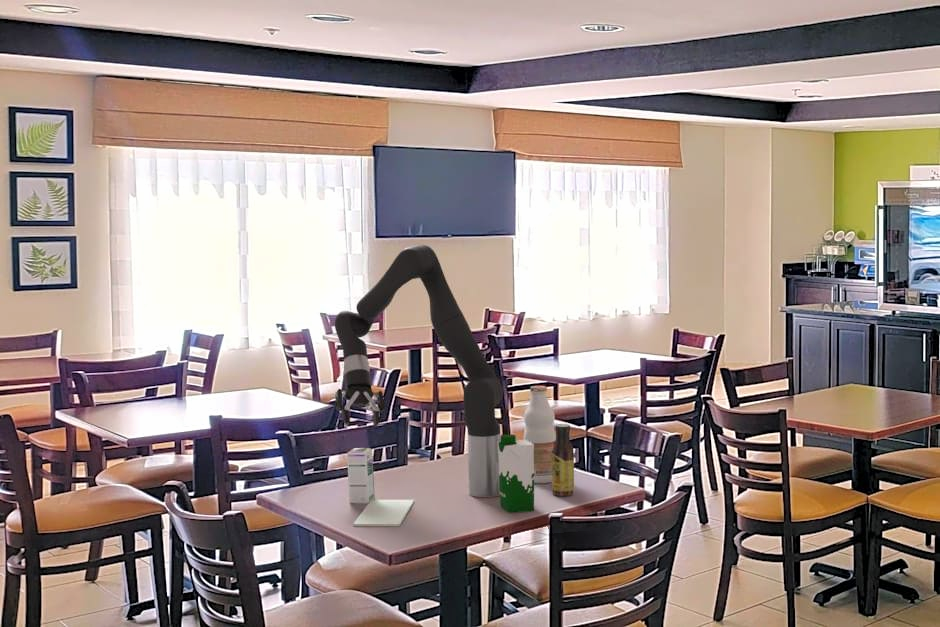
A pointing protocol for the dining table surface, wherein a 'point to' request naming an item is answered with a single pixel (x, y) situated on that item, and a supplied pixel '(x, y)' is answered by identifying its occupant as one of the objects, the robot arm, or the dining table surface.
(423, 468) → the dining table surface
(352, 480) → the syrup box
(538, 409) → the fruit juice
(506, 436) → the milk carton
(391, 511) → the mat
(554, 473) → the sauce bottle
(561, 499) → the dining table surface
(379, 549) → the dining table surface
